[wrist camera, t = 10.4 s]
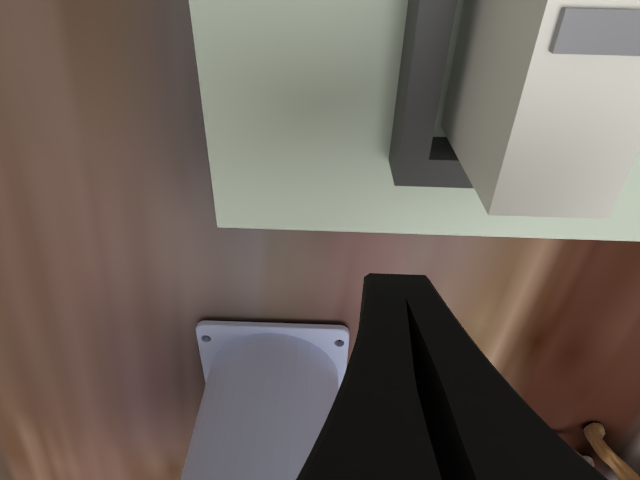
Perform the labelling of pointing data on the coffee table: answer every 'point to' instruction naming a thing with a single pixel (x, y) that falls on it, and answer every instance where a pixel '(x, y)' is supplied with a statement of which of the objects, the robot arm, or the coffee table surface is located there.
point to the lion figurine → (606, 453)
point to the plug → (546, 104)
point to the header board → (349, 122)
